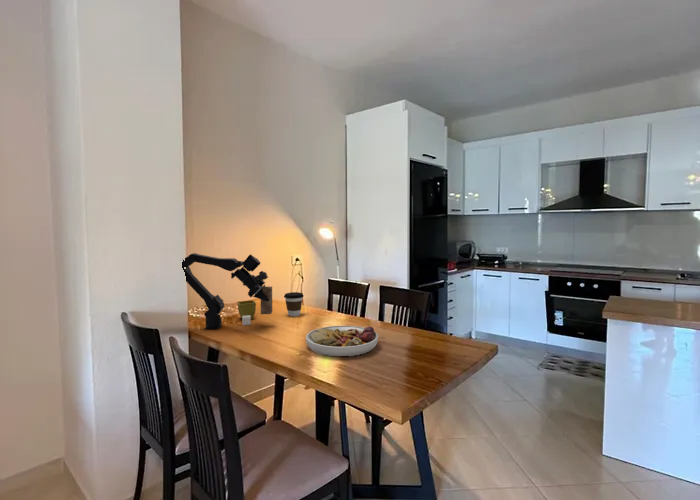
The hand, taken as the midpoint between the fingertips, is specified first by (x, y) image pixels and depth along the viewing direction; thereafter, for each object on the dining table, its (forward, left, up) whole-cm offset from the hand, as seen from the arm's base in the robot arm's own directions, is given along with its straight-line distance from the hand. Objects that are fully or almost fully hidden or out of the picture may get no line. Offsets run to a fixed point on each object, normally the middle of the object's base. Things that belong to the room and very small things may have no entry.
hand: (269, 299), depth 188 cm
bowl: (+40, -28, -14) cm, 50 cm away
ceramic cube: (-13, +3, -14) cm, 19 cm away
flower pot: (-17, +14, -14) cm, 26 cm away
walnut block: (-1, 0, -7) cm, 7 cm away
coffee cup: (+7, +23, -14) cm, 28 cm away
